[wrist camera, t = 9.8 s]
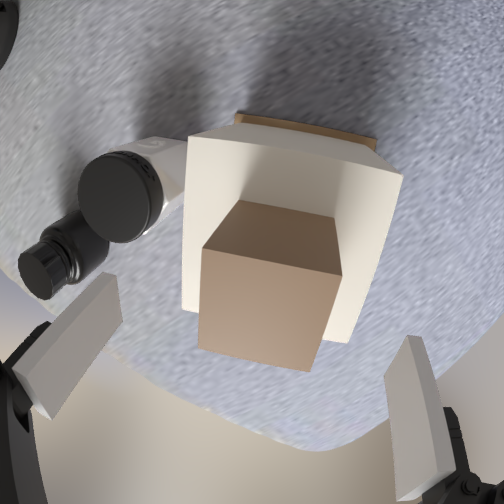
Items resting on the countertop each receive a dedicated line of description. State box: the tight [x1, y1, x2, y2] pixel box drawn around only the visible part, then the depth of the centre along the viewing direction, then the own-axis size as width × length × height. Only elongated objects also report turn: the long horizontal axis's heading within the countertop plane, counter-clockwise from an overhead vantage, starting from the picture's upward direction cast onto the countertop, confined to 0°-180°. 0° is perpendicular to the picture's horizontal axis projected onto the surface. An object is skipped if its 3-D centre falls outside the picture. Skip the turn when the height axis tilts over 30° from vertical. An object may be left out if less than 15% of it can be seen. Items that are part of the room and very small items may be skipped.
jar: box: [78, 136, 188, 243], centre depth 30 cm, size 9×8×12 cm
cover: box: [182, 123, 404, 372], centre depth 24 cm, size 13×13×22 cm
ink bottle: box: [18, 211, 108, 300], centre depth 37 cm, size 10×9×12 cm
